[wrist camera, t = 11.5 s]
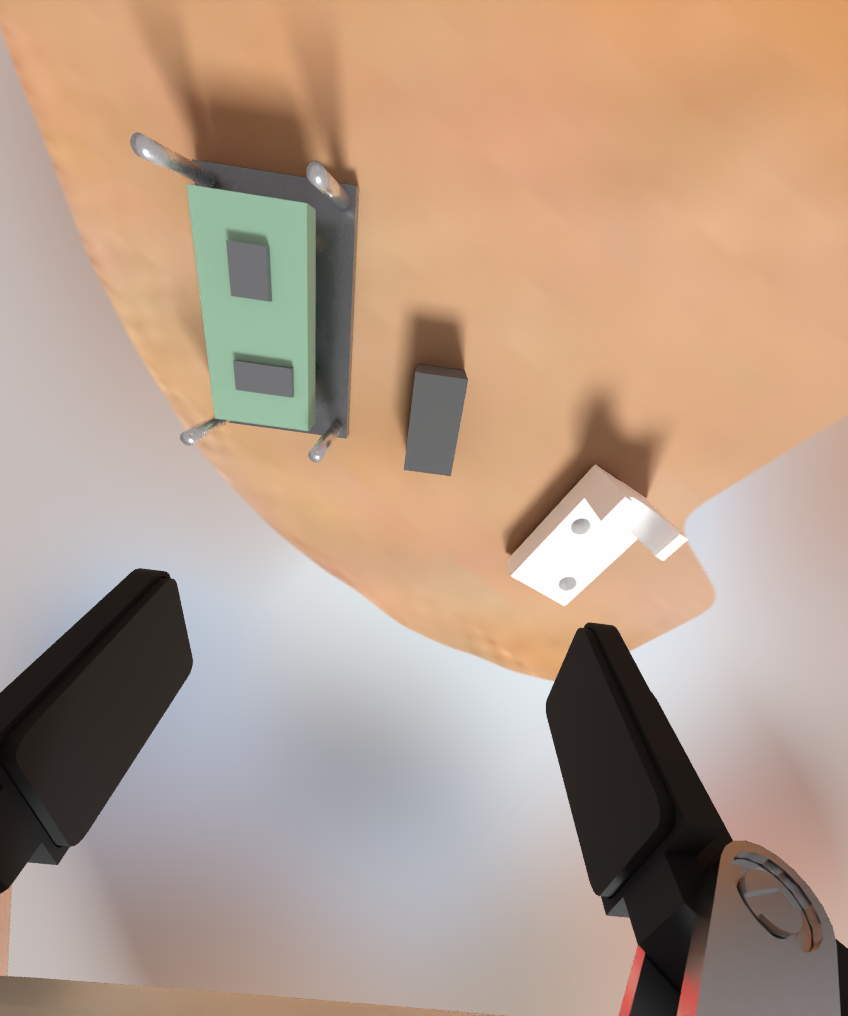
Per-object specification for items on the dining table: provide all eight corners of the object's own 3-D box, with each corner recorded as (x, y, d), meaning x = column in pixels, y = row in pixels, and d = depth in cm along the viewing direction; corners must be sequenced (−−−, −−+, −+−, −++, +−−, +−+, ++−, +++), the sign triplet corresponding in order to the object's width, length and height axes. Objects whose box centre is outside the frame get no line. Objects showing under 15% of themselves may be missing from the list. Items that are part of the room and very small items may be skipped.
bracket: (591, 460, 37) (625, 496, 31) (645, 497, 39) (688, 539, 32) (505, 555, 43) (518, 603, 36) (555, 584, 44) (576, 635, 38)
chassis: (200, 163, 28) (118, 119, 20) (358, 189, 28) (332, 154, 21) (227, 418, 36) (176, 449, 29) (348, 434, 36) (327, 468, 29)
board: (204, 191, 25) (180, 181, 23) (315, 209, 25) (303, 201, 23) (227, 411, 32) (210, 420, 29) (315, 423, 32) (305, 433, 30)
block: (417, 363, 33) (415, 372, 30) (464, 370, 34) (467, 379, 30) (407, 453, 37) (403, 469, 34) (449, 458, 37) (450, 476, 34)
